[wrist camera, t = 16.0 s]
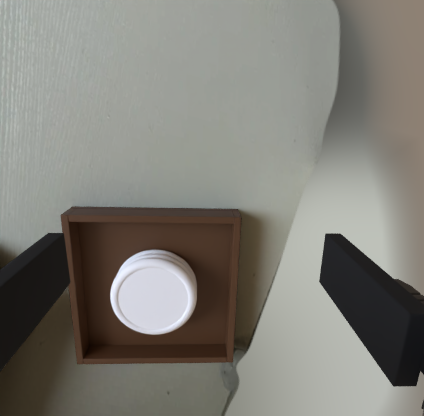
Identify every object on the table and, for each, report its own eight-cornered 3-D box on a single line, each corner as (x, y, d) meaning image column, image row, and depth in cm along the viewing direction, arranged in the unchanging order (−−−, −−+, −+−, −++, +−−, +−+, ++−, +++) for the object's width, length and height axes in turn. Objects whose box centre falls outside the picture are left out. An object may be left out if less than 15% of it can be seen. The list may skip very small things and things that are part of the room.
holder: (237, 208, 37) (241, 217, 34) (230, 344, 43) (233, 362, 39) (72, 206, 36) (60, 214, 33) (86, 345, 41) (77, 364, 38)
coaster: (210, 268, 38) (212, 282, 35) (175, 329, 41) (173, 348, 37) (136, 234, 37) (130, 246, 33) (103, 300, 39) (95, 317, 35)
